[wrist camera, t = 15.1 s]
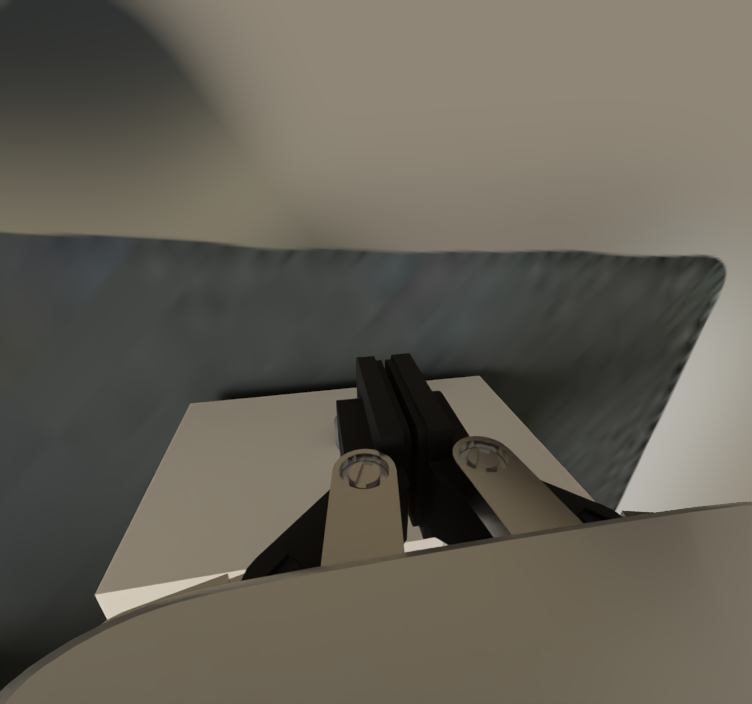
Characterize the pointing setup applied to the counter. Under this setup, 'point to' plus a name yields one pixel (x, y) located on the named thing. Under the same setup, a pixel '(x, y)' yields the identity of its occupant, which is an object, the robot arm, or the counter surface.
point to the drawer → (267, 484)
